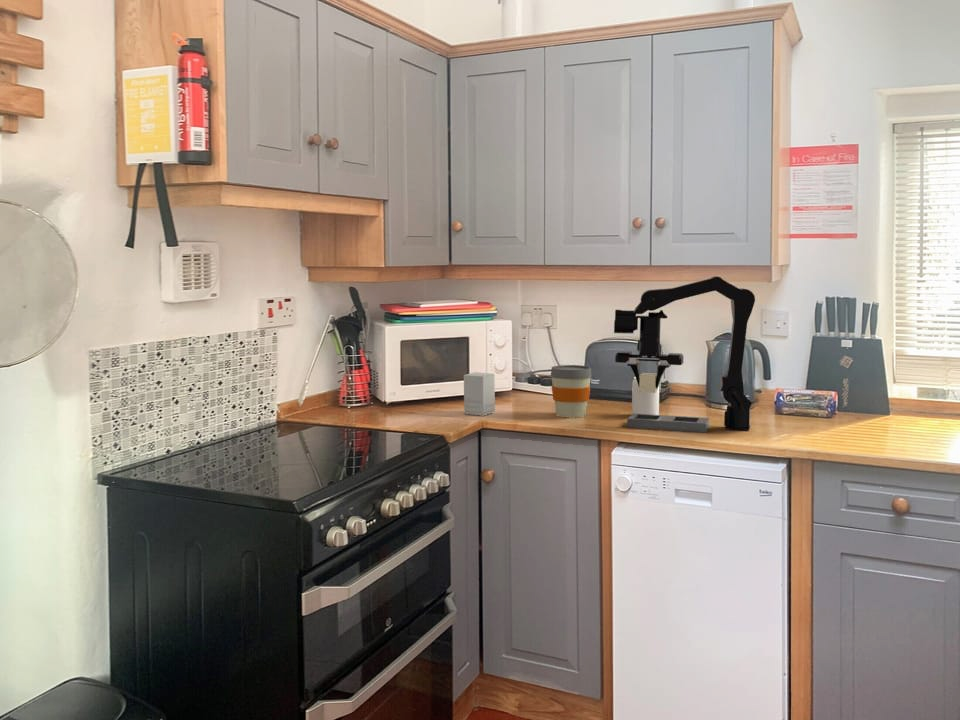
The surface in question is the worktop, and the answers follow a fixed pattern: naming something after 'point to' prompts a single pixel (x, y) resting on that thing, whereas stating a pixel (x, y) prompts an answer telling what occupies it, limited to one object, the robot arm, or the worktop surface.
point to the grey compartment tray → (668, 422)
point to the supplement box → (479, 393)
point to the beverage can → (644, 401)
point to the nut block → (648, 382)
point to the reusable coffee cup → (571, 389)
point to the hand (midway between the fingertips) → (648, 387)
